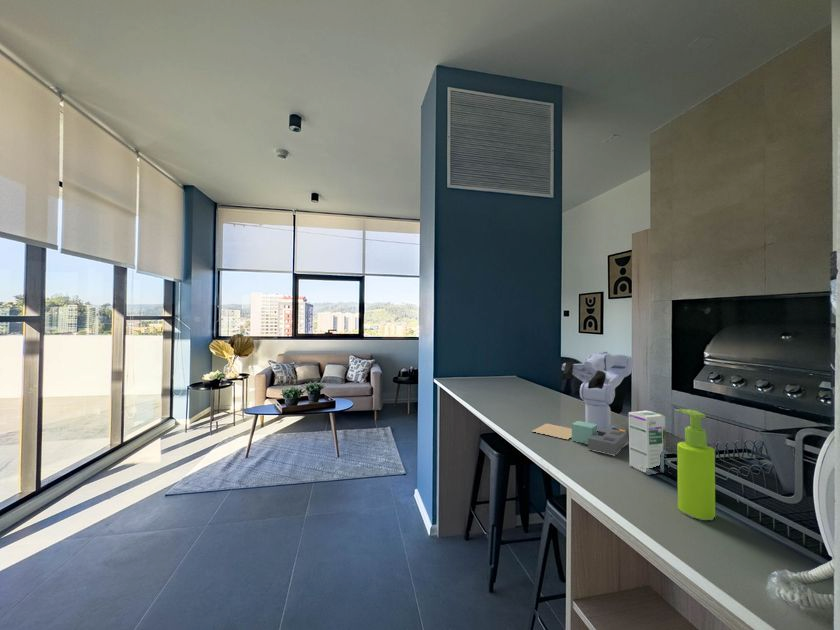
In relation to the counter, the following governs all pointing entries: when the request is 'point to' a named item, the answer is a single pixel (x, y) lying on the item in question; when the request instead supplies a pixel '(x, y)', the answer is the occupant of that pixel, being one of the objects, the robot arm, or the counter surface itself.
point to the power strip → (608, 440)
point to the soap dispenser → (696, 470)
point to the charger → (583, 431)
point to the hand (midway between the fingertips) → (576, 380)
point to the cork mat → (554, 431)
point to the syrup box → (646, 439)
